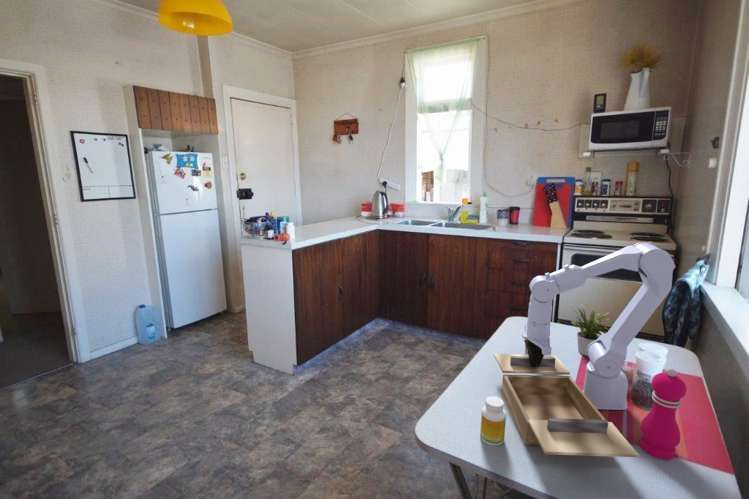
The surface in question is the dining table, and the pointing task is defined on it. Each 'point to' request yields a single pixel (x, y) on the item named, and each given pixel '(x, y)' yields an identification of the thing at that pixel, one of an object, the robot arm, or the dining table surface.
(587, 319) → the house plant
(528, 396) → the wooden box
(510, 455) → the dining table surface
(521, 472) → the dining table surface
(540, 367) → the lid
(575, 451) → the lid
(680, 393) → the pepper mill
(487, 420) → the supplement bottle
